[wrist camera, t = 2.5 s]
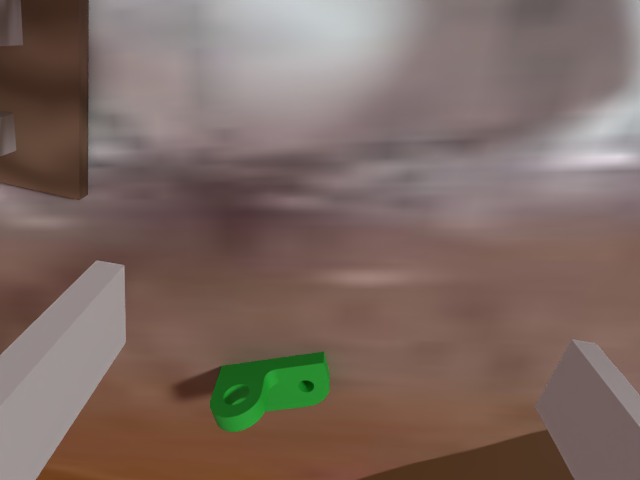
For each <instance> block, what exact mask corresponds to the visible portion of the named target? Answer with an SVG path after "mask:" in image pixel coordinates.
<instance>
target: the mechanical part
mask: <svg viewBox="0 0 640 480" xmlns="http://www.w3.org/2000/svg"><path fill="white" fill-rule="evenodd" d="M305 380H308V381H305ZM328 392H329V370H328V366H327V362H326V357H325V353H324V352H319V353H312V354H304V355H297V356H290V357H283V358H275V359H268V360H261V361H254V362H247V363H239V364H232V365H225V366H222V367H221V370H220V373H219V376H218V379H217V382H216V385H215V388H214V391H213V394H212V397H211V400H210V408H211V411H212V413H213V415H214V418H215V420H216V423H217V425H218V426H219V427H220V428H221V429H223V430H225V431H230V432H236V431H241V430H244V429H246V428H248V427H250V426H252V425H253V424H255V423H256V422H257V421H258V420H259V419H260V418H261V417H262V415H263V414H264V412H265V411H273V410H281V409H289V408H298V407H306V406H312V405H315V404H318V403H319V402H321V401H322V400H324V399H325V398H326V396H327V394H328Z"/></svg>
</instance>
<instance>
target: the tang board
mask: <svg viewBox="0 0 640 480" xmlns="http://www.w3.org/2000/svg"><path fill="white" fill-rule="evenodd" d="M0 182H1V183H5V184H10V185H14V186H19V187H23V188H28V189H32V190H37V191H41V192H45V193H50V194H54V195H59V196H63V197H68V198H72V199H77V200H80V199H82V198H83V197H85V196H86V195H88V0H0Z"/></svg>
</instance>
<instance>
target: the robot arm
mask: <svg viewBox="0 0 640 480" xmlns="http://www.w3.org/2000/svg"><path fill="white" fill-rule="evenodd" d="M125 343H126V327H125V272H124V265H121V264H115V263H109V262H103V261H97V260H96V261H95V262H94V263H93V264H92V265H91V266H90V267H89V268H88V269H87V270H86V271H85V272H84V273H83V274H82V275H81V276H80V277H79V278H78V279H77V280H76V281H75V282H74V283H73V284H72V285H71V286H70V287H69V288H68V289H67V290H66V291H65V292H64V293H63V294H62V295H61V296H60V297H59V298H58V299H57V300H56V301H55V302H54V303H53V304H52V305H51V306H50V307H49V308H48V309H47V310H46V311H45V312H44V313H43V314H42V315H41V316H40V317H38V318H37V319H36V320H35V321H34V322H33V323H32V324H31V325H30V326H29V327H28V328H27V329H26V330H25V331H24V332H23V333H22V334H21V335H20V336H19V337H18V338H17V339H16V340H15V341H14V342H13V343H12V344H11V345H10V346H9V347H8V348H7V349H6V350H5V351H4V352H3V353H2V354H1V355H0V480H36V478H37V477H38V475H39V474H40V472H41V471H42V469H43V468H44V466H45V465H46V463H47V461H48V460H49V458H50V457H51V455H52V454H53V452H54V451H55V449H56V448H57V446H58V445H59V443H60V442H61V440H62V439H63V437H64V436H65V434H66V433H67V431H68V430H69V428H70V426H71V425H72V423H73V422H74V420H75V419H76V417H77V416H78V414H79V413H80V411H81V410H82V408H83V407H84V405H85V404H86V402H87V401H88V399H89V398H90V396H91V395H92V393H93V391H94V390H95V388H96V387H97V385H98V384H99V382H100V381H101V379H102V378H103V376H104V375H105V373H106V372H107V370H108V369H109V367H110V366H111V364H112V363H113V361H114V360H115V358H116V356H117V355H118V353H119V352H120V350H121V349H122V347H123V346H124V344H125ZM535 407H536V409H537V411H538V413H539V414H540V416H541V418H542V420H543V422H544V424H545V426H546V427H547V429H548V431H549V433H550V435H551V437H552V438H553V440H554V442H555V444H556V446H557V448H558V450H559V451H560V453H561V455H562V457H563V459H564V461H565V462H566V464H567V466H568V468H569V470H570V472H571V473H572V475H573V477H574V479H575V480H640V395H639V394H638V392H637V391H636V390H635V389H634V388H633V387H632V385H631V384H630V383H629V382H628V381H627V379H626V378H625V377H624V376H623V375H622V374H621V372H620V371H619V370H618V369H617V368H616V366H615V365H614V364H613V363H612V362H611V360H610V359H609V358H608V357H607V356H606V355H605V353H604V352H603V351H602V350H601V349H600V347H599V346H598V345H597V344H596V343H591V342H585V341H579V340H573V339H571V341H570V343H569V345H568V347H567V348H566V350H565V352H564V354H563V356H562V358H561V359H560V361H559V363H558V365H557V367H556V369H555V370H554V372H553V374H552V376H551V378H550V380H549V381H548V383H547V385H546V387H545V389H544V391H543V392H542V394H541V396H540V398H539V400H538V402H537V403H536V405H535Z"/></svg>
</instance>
